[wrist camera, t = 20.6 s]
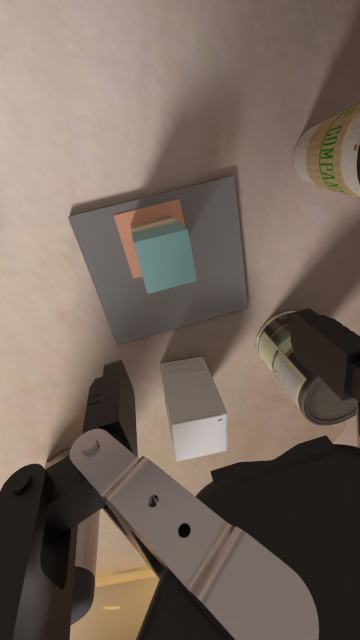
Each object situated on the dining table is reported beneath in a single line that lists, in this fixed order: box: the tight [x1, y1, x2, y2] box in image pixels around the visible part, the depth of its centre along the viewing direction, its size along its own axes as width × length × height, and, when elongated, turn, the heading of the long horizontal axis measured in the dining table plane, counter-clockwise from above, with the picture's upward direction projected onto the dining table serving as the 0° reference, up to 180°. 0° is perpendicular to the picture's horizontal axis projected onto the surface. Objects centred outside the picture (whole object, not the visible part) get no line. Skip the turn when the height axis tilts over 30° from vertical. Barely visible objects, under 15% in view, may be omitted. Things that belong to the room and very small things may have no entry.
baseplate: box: [68, 176, 248, 345], centre depth 37 cm, size 20×18×1 cm
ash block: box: [130, 216, 177, 233], centre depth 33 cm, size 5×5×5 cm
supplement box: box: [160, 356, 227, 461], centre depth 41 cm, size 7×7×13 cm
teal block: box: [132, 221, 197, 294], centre depth 28 cm, size 5×5×5 cm
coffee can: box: [256, 311, 357, 425], centre depth 41 cm, size 10×10×14 cm
